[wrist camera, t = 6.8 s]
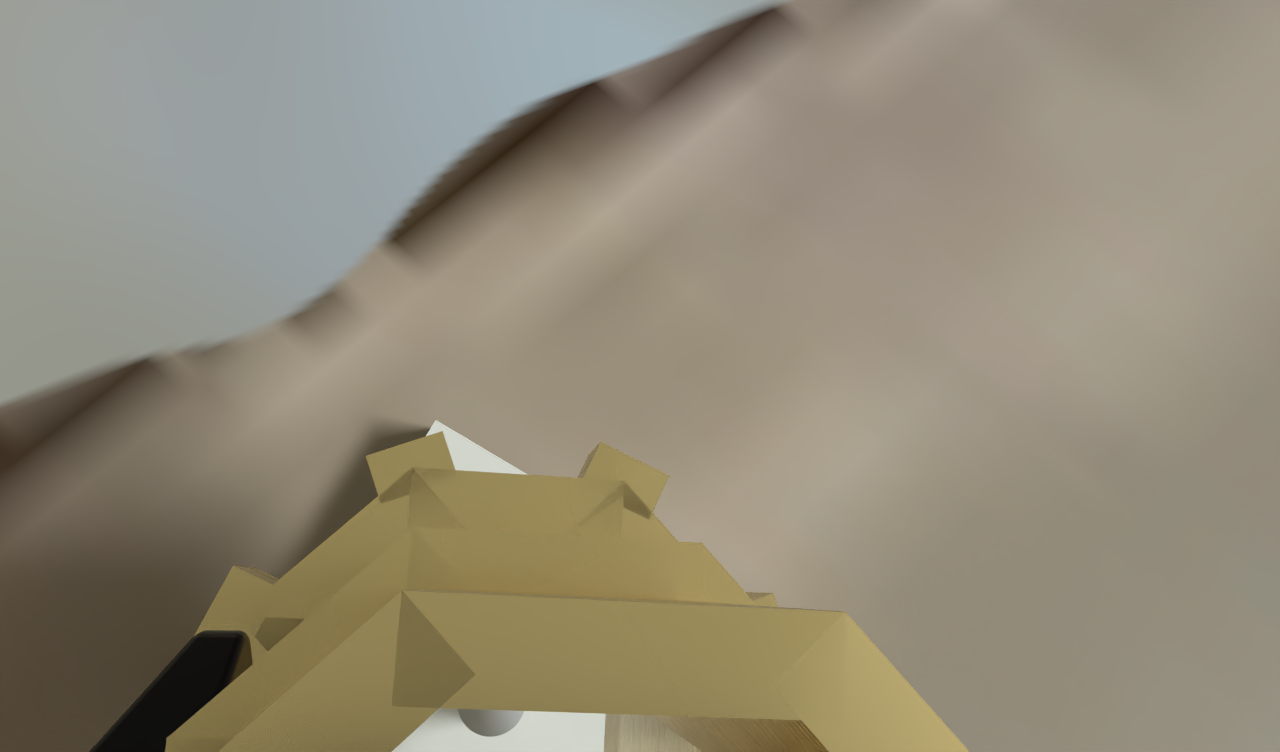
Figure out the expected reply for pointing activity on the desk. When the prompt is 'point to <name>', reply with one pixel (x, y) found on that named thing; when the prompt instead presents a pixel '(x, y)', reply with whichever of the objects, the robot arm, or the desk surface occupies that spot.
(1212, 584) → the desk surface
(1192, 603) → the desk surface
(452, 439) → the gear board
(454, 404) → the desk surface
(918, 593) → the desk surface
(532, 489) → the yellow octagonal tube
